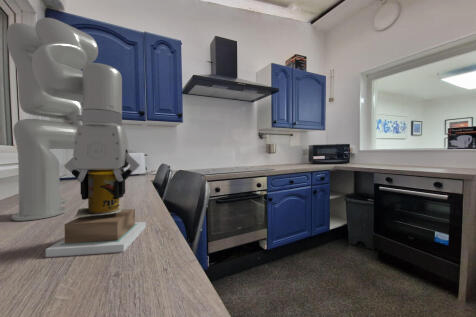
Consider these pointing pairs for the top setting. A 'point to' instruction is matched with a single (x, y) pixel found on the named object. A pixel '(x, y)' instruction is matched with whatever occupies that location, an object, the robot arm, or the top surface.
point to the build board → (96, 244)
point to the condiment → (100, 194)
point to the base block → (99, 227)
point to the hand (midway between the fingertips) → (103, 197)
